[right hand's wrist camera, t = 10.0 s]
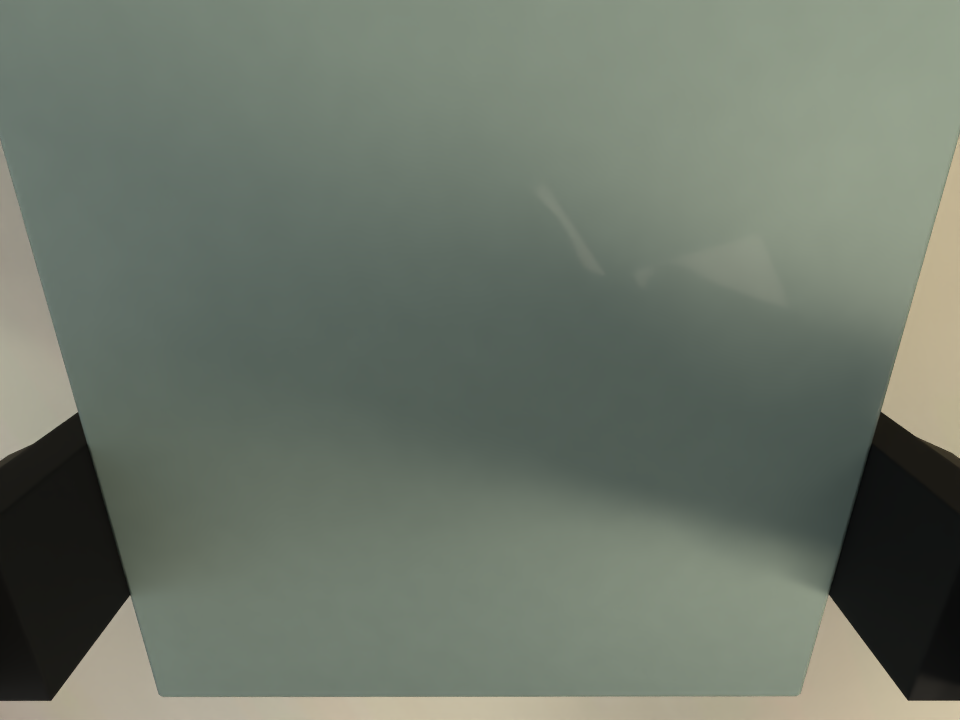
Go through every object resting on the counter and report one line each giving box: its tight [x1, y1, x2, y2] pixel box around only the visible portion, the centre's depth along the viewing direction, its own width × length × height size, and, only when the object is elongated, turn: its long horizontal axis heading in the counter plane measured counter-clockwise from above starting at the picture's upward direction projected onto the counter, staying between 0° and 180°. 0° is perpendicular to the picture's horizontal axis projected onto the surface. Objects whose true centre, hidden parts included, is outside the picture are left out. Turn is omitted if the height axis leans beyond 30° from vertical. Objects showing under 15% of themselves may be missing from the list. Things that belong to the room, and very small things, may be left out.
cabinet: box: [0, 0, 960, 697], centre depth 11 cm, size 20×11×9 cm, turn 0°
